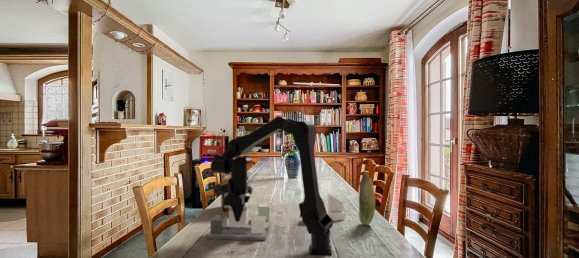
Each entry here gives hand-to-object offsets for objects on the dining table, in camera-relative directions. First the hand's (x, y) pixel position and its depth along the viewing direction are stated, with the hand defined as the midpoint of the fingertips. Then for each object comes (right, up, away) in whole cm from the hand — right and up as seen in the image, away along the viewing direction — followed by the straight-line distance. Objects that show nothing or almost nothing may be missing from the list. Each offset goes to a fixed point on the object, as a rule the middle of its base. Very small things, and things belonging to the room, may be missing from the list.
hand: (238, 219), depth 102 cm
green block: (+7, -6, +18) cm, 20 cm away
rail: (0, -6, 0) cm, 6 cm away
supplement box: (-8, -6, +32) cm, 33 cm away
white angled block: (+37, -6, +19) cm, 42 cm away
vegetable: (+48, -6, +11) cm, 49 cm away
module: (0, -2, 0) cm, 2 cm away
